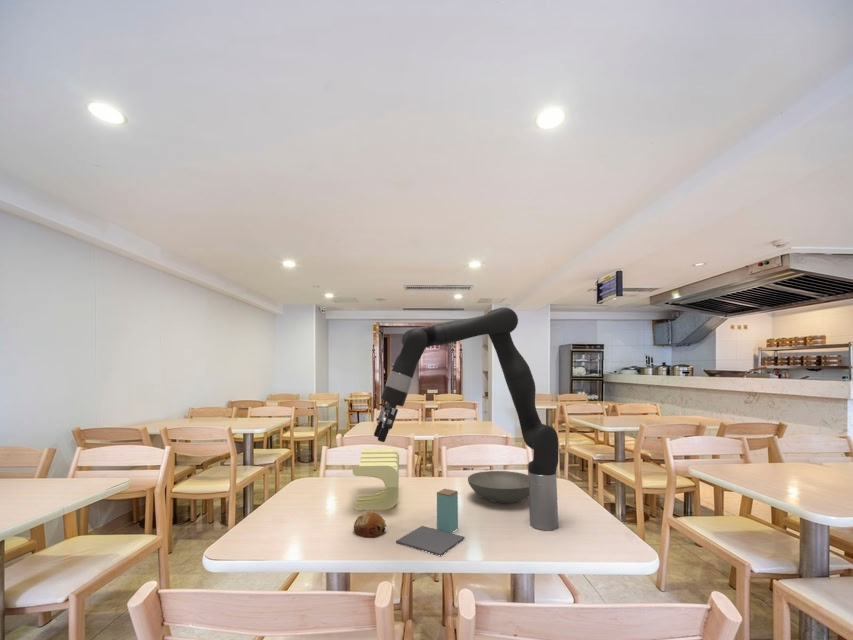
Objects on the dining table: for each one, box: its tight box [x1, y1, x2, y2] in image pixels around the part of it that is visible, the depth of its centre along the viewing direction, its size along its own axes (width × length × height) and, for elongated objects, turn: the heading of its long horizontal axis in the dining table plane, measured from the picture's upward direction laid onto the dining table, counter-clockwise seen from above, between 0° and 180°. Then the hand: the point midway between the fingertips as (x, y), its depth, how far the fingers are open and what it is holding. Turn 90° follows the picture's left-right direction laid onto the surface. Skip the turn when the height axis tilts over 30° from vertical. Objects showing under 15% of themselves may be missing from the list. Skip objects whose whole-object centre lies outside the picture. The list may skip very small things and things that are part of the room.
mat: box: [395, 525, 466, 557], centre depth 125 cm, size 14×16×1 cm
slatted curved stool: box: [352, 448, 400, 510], centre depth 160 cm, size 30×16×18 cm, turn 3°
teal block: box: [436, 488, 459, 534], centre depth 134 cm, size 5×5×12 cm
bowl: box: [467, 470, 529, 504], centre depth 163 cm, size 27×28×8 cm
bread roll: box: [353, 510, 388, 539], centre depth 133 cm, size 10×10×8 cm
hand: (378, 439), depth 125 cm, fingers open, 8 cm apart
